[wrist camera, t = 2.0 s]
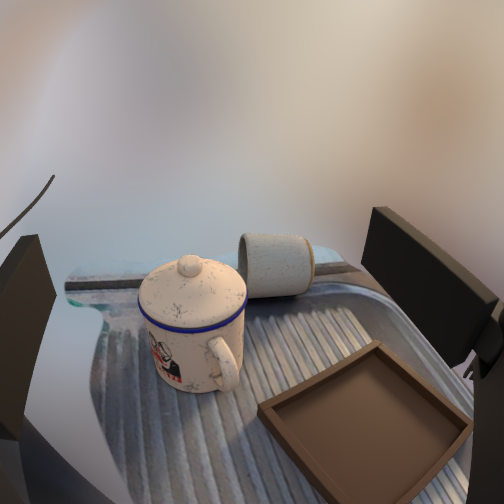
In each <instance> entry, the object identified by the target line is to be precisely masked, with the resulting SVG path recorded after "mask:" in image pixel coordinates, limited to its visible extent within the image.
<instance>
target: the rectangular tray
mask: <svg viewBox="0 0 504 504" xmlns="http://www.w3.org/2000/svg"><path fill="white" fill-rule="evenodd" d="M257 416H258V417H259V418H260V420H261V421H262V422H263V424H264V425H265V426H266V428H267V429H268V430H269V431H270V433H271V434H272V435H273V437H274V438H275V439H276V441H277V442H278V443H279V444H280V446H281V447H282V448H283V449H284V451H285V452H286V453H287V454H288V456H289V457H290V458H291V459H292V461H293V462H294V463H295V464H296V466H297V467H298V468H299V469H300V470H301V472H302V473H303V474H304V475H305V477H306V478H307V479H308V480H309V481H310V482H311V484H312V485H313V486H314V487H315V488H316V489H317V491H318V492H319V493H320V494H321V495H322V496H323V498H324V499H325V500H326V501H327V502H328V503H329V504H408V503H409V502H410V501H412V500H413V499H414V498H415V497H416V496H417V495H418V494H419V493H420V492H421V491H422V490H423V489H424V488H425V487H426V485H427V484H428V483H429V482H430V481H431V480H432V479H433V478H434V477H435V476H436V475H437V474H438V473H439V471H440V470H441V469H442V468H443V467H444V466H445V465H446V464H447V462H448V461H449V460H450V459H451V458H452V457H453V455H454V454H455V453H456V452H457V450H458V449H459V448H460V447H461V446H462V444H463V443H464V442H465V440H466V439H467V438H468V437H469V435H470V434H471V433H472V431H473V426H474V422H473V421H471V419H470V418H469V417H468V416H466V415H465V414H464V413H463V412H462V411H461V410H460V409H458V408H457V407H456V406H455V405H454V404H453V403H451V402H450V401H449V400H448V399H447V398H446V397H444V396H443V395H442V394H441V393H440V392H439V391H437V390H436V389H435V388H434V387H433V386H432V385H430V384H429V383H428V382H427V381H426V380H425V379H423V378H422V377H421V376H420V375H419V374H418V373H416V372H415V371H414V370H413V369H412V368H411V367H409V366H408V365H407V364H406V363H405V362H403V361H402V360H401V359H400V358H399V357H398V356H396V355H395V354H394V353H393V352H392V351H391V350H389V349H388V348H387V347H386V346H385V345H383V344H382V343H381V342H380V341H379V340H377V339H376V340H375V341H373V342H371V343H370V344H368V345H367V346H365V347H363V348H362V349H360V350H358V351H357V352H355V353H354V354H352V355H350V356H348V357H347V358H345V359H343V360H342V361H340V362H338V363H337V364H335V365H333V366H331V367H330V368H328V369H326V370H324V371H322V372H321V373H319V374H317V375H315V376H313V377H311V378H310V379H308V380H306V381H304V382H302V383H300V384H298V385H296V386H294V387H292V388H291V389H289V390H287V391H285V392H283V393H281V394H279V395H277V396H275V397H273V398H270V399H268V400H266V401H264V402H262V403H260V404H258V409H257Z"/></svg>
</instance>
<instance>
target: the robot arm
mask: <svg viewBox="0 0 504 504" xmlns="http://www.w3.org/2000/svg"><path fill="white" fill-rule="evenodd" d="M54 177H55V175H52V177H51V178H50V180H49V181H48V183H47V184H46V186H45V187H44V189H43V190H42V191H41V193H40V194H39V195H38V196H37V198H36V199H35V200H34V201H33V202H32V203H31V204H30V205H29V206H28V207H27V208H26V209H25V210H24V211H23V212H22V213H21V214H20V215H19V216H18V217H17V218H16V219H15V220H14V221H13V222H12V223H10V224H9V225H8V226H7V227H6V228H5V229H4V230H3V231H2V232H1V233H0V239H1V238H2V237H3V236H4V235H5V234H6V233H7V232H8V231H9V230H10V229H11V228H12V227H13V226H14V225H15V224H16V223H17V222H18V221H19V220H20V219H21V218H22V217H23V216H24V215H25V214H26V213H27V212H28V211H29V210H30V209H31V208H32V207H33V206H34V205H35V204H36V203H37V201H38V200H39V199H40V198H41V197H42V195H43V194H44V193H45V191H46V190H47V189H48V187H49V185H50V184H51V182H52V181H53V179H54ZM361 264H362V265H363V266H364V267H365V268H366V270H367V271H368V272H369V273H370V274H371V275H372V276H373V277H374V278H375V280H376V281H377V282H378V283H379V284H380V285H381V286H382V287H383V289H384V290H385V291H386V292H387V293H388V294H389V295H390V296H391V298H392V299H393V300H394V301H395V302H396V303H397V305H398V306H399V307H400V308H401V309H402V310H403V311H404V313H405V314H406V315H407V316H408V317H409V319H410V320H411V321H412V322H413V323H414V324H415V326H416V327H417V328H418V329H419V330H420V332H421V333H422V334H423V335H424V336H425V338H426V339H427V340H428V341H429V343H430V344H431V345H432V346H433V347H434V349H435V350H436V351H437V352H438V354H439V355H440V356H441V357H442V359H443V360H444V361H445V362H446V364H447V365H448V366H449V368H450V369H451V368H453V367H455V366H457V365H459V364H461V363H463V362H465V360H466V358H467V357H468V355H469V354H470V352H471V350H472V349H473V350H474V351H475V352H476V356H475V358H474V359H473V360H472V362H471V364H470V365H469V367H468V368H467V370H466V371H465V373H464V375H463V378H466V377H467V376H468V374H469V373H470V371H473V373H472V375H471V377H470V378H469V379H470V380H473V384H474V426H473V446H472V459H471V470H470V479H469V487H468V494H467V500H466V504H504V303H503V302H502V301H501V300H500V299H499V298H498V297H497V296H496V295H495V294H494V293H493V292H492V291H491V290H489V289H488V288H487V287H486V286H485V285H484V284H483V283H482V282H481V281H480V280H478V279H477V278H476V277H475V276H474V275H473V274H472V273H470V272H469V271H468V270H467V269H466V268H465V267H463V266H462V265H461V264H460V263H459V262H458V261H456V260H455V259H454V258H453V257H451V256H450V255H449V254H448V253H447V252H446V251H444V250H443V249H442V248H441V247H439V246H438V245H437V244H436V243H434V242H433V241H432V240H431V239H429V238H428V237H427V236H426V235H424V234H423V233H422V232H420V231H419V230H418V229H416V228H415V227H414V226H413V225H411V224H410V223H409V222H407V221H406V220H405V219H403V218H402V217H401V216H399V215H398V214H396V213H395V212H394V211H392V210H391V209H390V208H388V207H373V210H372V215H371V219H370V225H369V229H368V234H367V239H366V243H365V247H364V252H363V256H362V260H361ZM56 296H57V295H56V292H55V289H54V286H53V283H52V280H51V277H50V274H49V271H48V268H47V264H46V261H45V258H44V254H43V251H42V248H41V244H40V240H39V237H38V234H35V235H27V236H21V237H20V239H19V240H18V242H17V243H16V244H15V246H14V247H13V249H12V250H11V252H10V253H9V254H8V256H7V257H6V259H5V261H4V262H3V264H2V265H1V267H0V439H3V440H10V441H17V442H19V438H20V432H21V426H22V420H23V415H24V409H25V405H26V400H27V395H28V391H29V386H30V382H31V378H32V374H33V370H34V366H35V363H36V359H37V355H38V352H39V348H40V344H41V341H42V338H43V335H44V331H45V328H46V325H47V322H48V319H49V316H50V313H51V310H52V307H53V304H54V301H55V299H56ZM0 504H26V503H25V502H24V500H23V499H22V497H21V496H20V494H19V493H18V491H17V489H16V488H15V486H14V484H13V483H12V481H11V479H10V478H9V476H8V474H7V472H6V471H5V469H4V467H3V465H2V463H1V461H0Z"/></svg>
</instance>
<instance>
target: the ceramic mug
mask: <svg viewBox="0 0 504 504" xmlns="http://www.w3.org/2000/svg"><path fill="white" fill-rule="evenodd" d="M314 270H315V262H314V255H313V250H312V248H311V245H310V243H309V242H308V241H307V240H306V239H304V238H303V237H299V236H294V235H271V234H249V233H248V234H247V233H245V234H243V235H242V236H241V238H240V242H239V249H238V274H239V275H240V276H241V277H242V279H243V280H244V282H245V285H246V287H247V291H248V299H249V298H263V297H275V296H288V295H296V294H301V293H304V292H306V291H307V290H308V289H309V287H310V286H311V284H312V281H313V277H314Z"/></svg>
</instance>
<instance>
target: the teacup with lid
mask: <svg viewBox="0 0 504 504" xmlns="http://www.w3.org/2000/svg"><path fill="white" fill-rule="evenodd" d="M247 300H248V291H247V287H246V285H245V282H244V280H243V279H242V277H241V276H240V275H239V274H238V273H237V272H236V271H235V270H234V269H233V268H231V267H230V266H228V265H226V264H224V263H221V262H218V261H215V260H210V259H203V258H199V257H198V256H196V255H186V256H183V257H181V258H180V259H179V260H175V261H172V262H169V263H166V264H164V265H162V266H159V267H158V268H156V269H155V270H153V271H152V272H151V273H149V274H148V275H147V277H146V278H145V279H144V281H143V282H142V284H141V286H140V289H139V293H138V305H139V309H140V311H141V313H142V314H143V316H144V319H145V324H146V328H147V333H148V337H149V341H150V345H151V349H152V353H153V357H154V361H155V365H156V368H157V371H158V373H159V374H160V376H161V377H162V378H163V380H165V381H166V382H167V383H168V384H169V385H171V386H173V387H174V388H176V389H179V390H181V391H185V392H190V393H205V392H211V391H214V390H217V389H219V390H221V391H222V392H229V391H232V390H234V389H236V387H237V386H238V383H239V371H240V369H241V366H242V360H243V333H244V308H245V306H246V304H247Z"/></svg>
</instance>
